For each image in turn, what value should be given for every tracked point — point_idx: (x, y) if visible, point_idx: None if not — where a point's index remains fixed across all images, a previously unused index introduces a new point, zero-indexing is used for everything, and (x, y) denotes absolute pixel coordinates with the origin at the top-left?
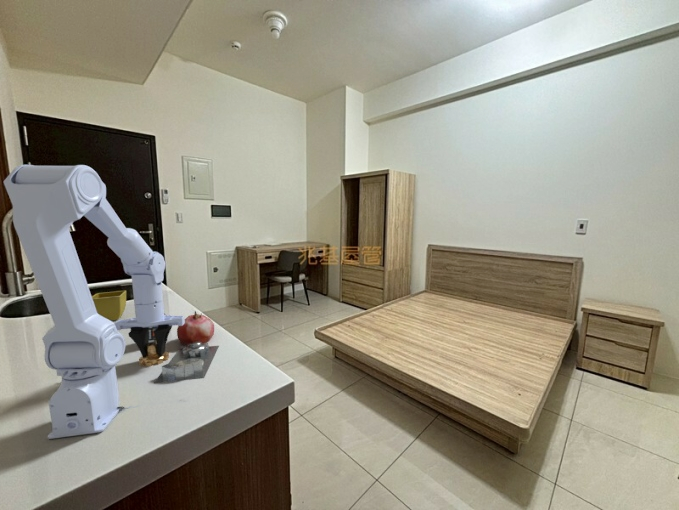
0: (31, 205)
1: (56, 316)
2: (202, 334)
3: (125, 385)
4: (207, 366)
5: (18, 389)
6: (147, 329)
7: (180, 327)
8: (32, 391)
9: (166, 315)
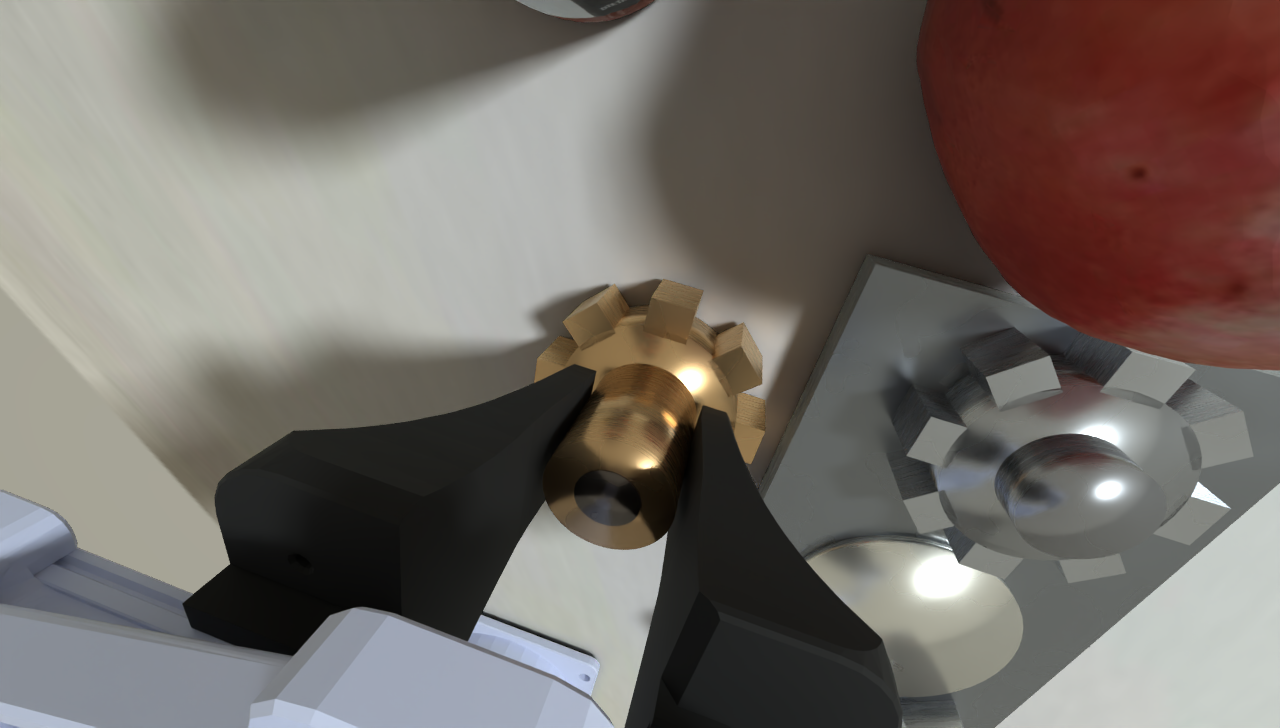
0: None
1: None
2: None
3: (547, 548)
4: (1020, 685)
5: (64, 322)
6: (453, 524)
7: (1071, 144)
8: (147, 377)
9: None
